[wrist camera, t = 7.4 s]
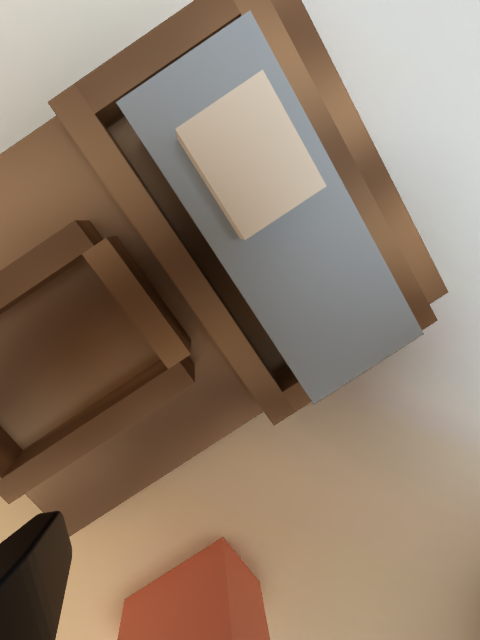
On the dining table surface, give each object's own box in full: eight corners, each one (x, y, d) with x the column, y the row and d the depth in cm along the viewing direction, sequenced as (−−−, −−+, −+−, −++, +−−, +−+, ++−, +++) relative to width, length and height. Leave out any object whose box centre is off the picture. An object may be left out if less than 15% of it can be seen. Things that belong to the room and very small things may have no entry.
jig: (432, 287, 19) (479, 300, 16) (74, 519, 20) (52, 574, 17) (274, -21, 16) (294, -81, 12) (-154, 275, 16) (-236, 287, 13)
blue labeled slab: (360, 302, 18) (447, 345, 12) (281, 354, 18) (325, 422, 12) (232, 78, 15) (257, -18, 9) (140, 140, 15) (105, 86, 9)
